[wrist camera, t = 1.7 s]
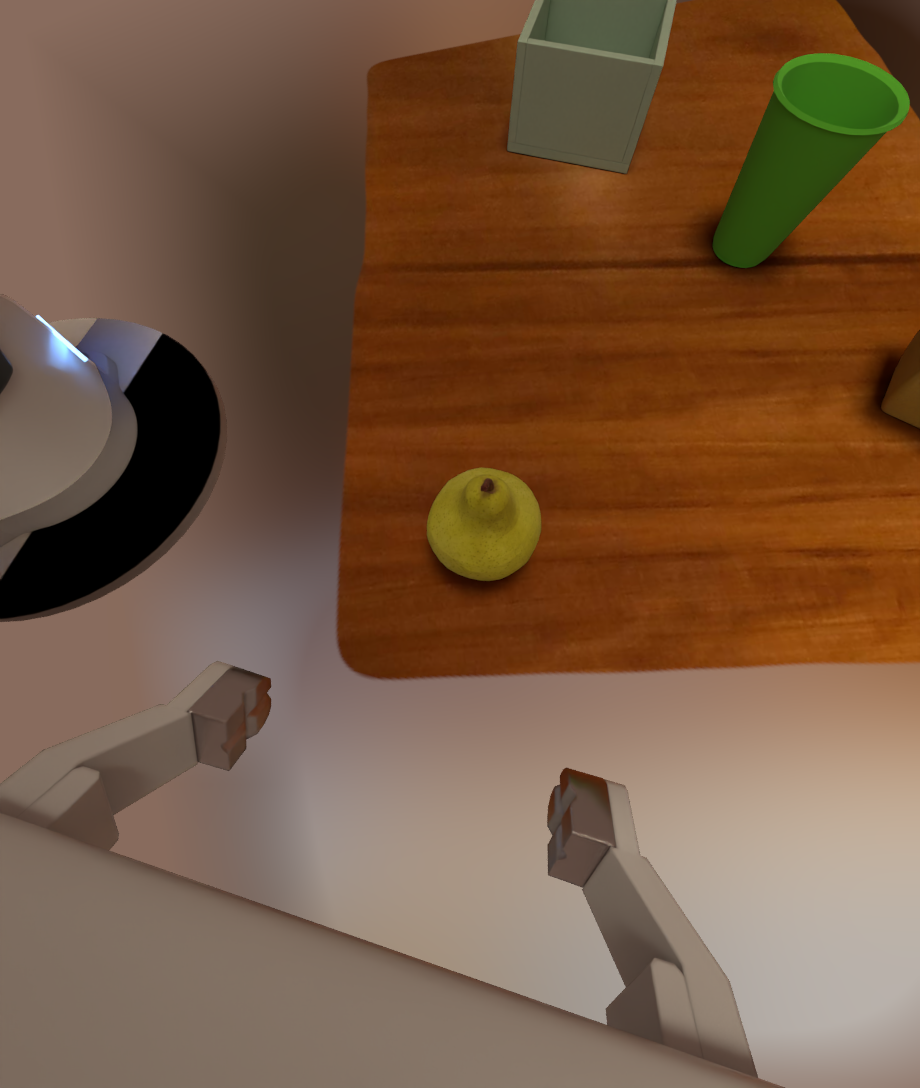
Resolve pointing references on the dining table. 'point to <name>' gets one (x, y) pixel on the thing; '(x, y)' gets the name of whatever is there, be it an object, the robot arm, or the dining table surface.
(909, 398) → the flower pot
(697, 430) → the dining table surface
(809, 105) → the cup
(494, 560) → the fruit
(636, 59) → the bin
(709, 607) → the dining table surface
